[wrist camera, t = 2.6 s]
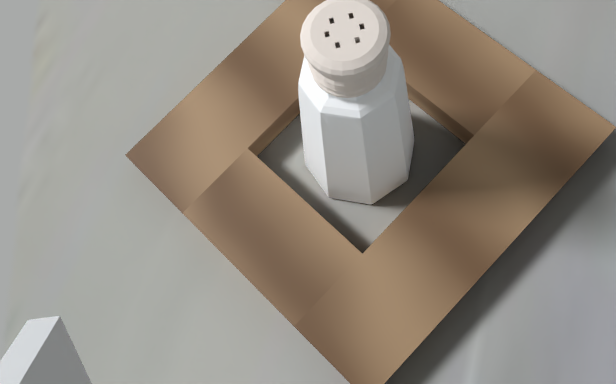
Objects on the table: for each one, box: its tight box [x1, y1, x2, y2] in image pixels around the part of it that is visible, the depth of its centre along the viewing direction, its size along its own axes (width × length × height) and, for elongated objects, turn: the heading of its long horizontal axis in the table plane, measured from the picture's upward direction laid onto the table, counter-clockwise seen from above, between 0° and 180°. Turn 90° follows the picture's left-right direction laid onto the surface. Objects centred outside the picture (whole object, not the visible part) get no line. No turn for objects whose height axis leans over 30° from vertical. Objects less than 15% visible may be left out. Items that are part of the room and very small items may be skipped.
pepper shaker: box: [298, 0, 415, 205], centre depth 23 cm, size 5×5×11 cm
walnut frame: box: [126, 0, 616, 384], centre depth 27 cm, size 16×16×2 cm
